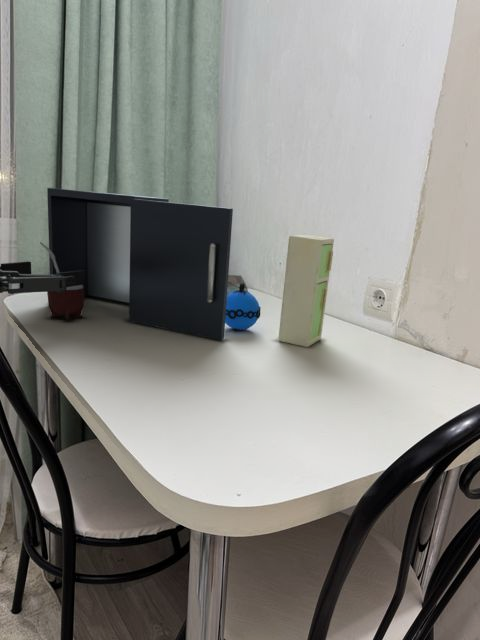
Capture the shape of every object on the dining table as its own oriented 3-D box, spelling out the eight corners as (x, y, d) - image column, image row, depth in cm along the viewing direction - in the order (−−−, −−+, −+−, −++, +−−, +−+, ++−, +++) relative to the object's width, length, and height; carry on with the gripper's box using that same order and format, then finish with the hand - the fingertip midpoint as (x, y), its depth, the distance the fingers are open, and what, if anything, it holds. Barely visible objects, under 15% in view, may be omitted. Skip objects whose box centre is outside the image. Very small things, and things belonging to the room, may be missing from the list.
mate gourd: (87, 321, 104) (86, 247, 99) (45, 322, 100) (42, 245, 96) (81, 313, 110) (80, 243, 106) (42, 314, 106) (39, 241, 102)
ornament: (228, 322, 113) (231, 278, 111) (264, 328, 111) (268, 283, 108) (211, 330, 106) (214, 283, 103) (250, 337, 103) (254, 288, 100)
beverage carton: (215, 309, 125) (216, 283, 124) (212, 295, 144) (214, 272, 142) (247, 311, 127) (249, 285, 125) (240, 297, 145) (242, 274, 143)
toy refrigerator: (311, 348, 99) (324, 239, 93) (277, 341, 102) (288, 235, 96) (324, 340, 106) (337, 238, 100) (292, 333, 109) (303, 234, 103)
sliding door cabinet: (40, 305, 113) (36, 187, 106) (87, 297, 126) (86, 191, 119) (217, 343, 97) (226, 205, 90) (249, 328, 110) (260, 207, 103)
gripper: (10, 271, 76) (105, 261, 95) (-99, 251, 85) (8, 246, 104) (13, 319, 78) (105, 300, 97) (-94, 295, 87) (10, 282, 106)
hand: (55, 272), depth 100 cm, fingers open, 13 cm apart
